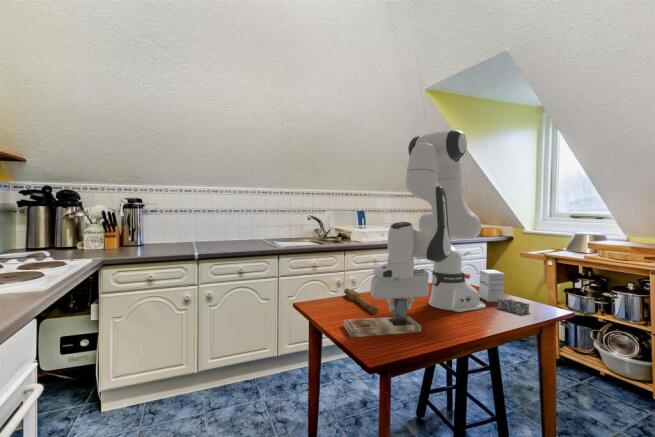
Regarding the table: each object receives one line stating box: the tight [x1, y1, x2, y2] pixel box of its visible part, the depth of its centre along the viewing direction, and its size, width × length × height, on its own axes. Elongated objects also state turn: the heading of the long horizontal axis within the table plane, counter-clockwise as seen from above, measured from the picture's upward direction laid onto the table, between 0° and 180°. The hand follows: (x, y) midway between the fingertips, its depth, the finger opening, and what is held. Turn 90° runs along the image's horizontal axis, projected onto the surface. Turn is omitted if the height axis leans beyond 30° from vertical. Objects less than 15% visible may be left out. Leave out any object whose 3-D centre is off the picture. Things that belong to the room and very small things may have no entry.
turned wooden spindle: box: [343, 288, 379, 315], centre depth 144 cm, size 3×3×30 cm
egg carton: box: [497, 298, 532, 315], centre depth 136 cm, size 11×8×4 cm
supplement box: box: [478, 269, 505, 303], centre depth 150 cm, size 7×7×13 cm
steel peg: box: [392, 298, 408, 326], centre depth 116 cm, size 4×4×10 cm
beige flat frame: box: [343, 315, 422, 338], centre depth 115 cm, size 24×10×2 cm, turn 101°
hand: (399, 310), depth 116 cm, fingers closed on steel peg, 4 cm apart
